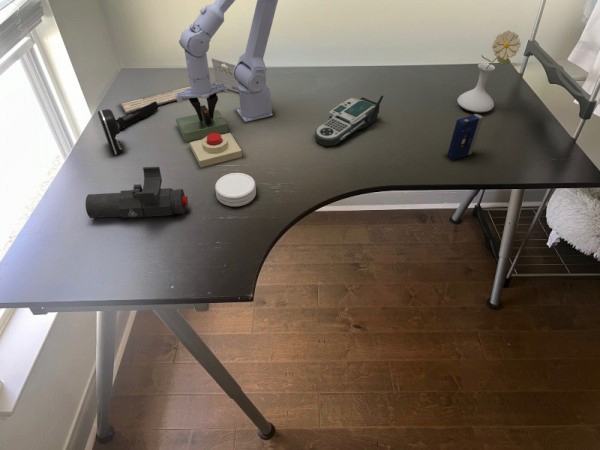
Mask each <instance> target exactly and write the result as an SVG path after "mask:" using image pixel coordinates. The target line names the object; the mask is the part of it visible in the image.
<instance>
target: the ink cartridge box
mask: <svg viewBox="0 0 600 450" xmlns="http://www.w3.org/2000/svg"><path fill="white" fill-rule="evenodd" d="M211 64H212V69H213V76H214V77H213V78H214V85H215V84H225V85H226V86H227V90H229V91H233V92H235V93H238V94H239V88H238V81H237V80H236V79H235V78H234V75H233V71H234V68H235V66H236V65H237V64H233V63H230V62H227V61H222V60H220V59H215V58H211ZM223 65H225V66H226V67H225V66H223Z"/></svg>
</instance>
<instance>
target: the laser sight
mask: <svg viewBox="0 0 600 450" xmlns="http://www.w3.org/2000/svg"><path fill="white" fill-rule="evenodd" d="M142 170H143V185H142V184H141V183H140V184H139V183H138V184H133V188H132V189H129V190H126V189H125V190H120V192H110V193H109V192H108V193H90V194H87V195H86V197H85V203H84V205H85V211H86V214H87V216H88V218H90V219H95V218H113V217H115V218H116V217H122V218H125V219H127V218H145V217H162V216H163V217H165V216H175V214H185V212H186V206H187V207H188V205H189V199H188V195H185V191H184V189H183V188H177V189H176V188H175V189H173V188H171V187H167V188H161V187H162V183H163V179H162V174H161V169H160V166H143V167H142Z"/></svg>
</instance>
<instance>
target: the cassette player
mask: <svg viewBox="0 0 600 450" xmlns="http://www.w3.org/2000/svg"><path fill="white" fill-rule="evenodd" d="M483 119H484V116H482V115H481V114H478V113H474V114H471V115H468V116H465V117H461V118H458V119H456V122H455V125H454V129H453V133H452V136H451V140H450V144H449V147H448V150H447V154H446V158H448V159H449V160H451V161H454V160H455V161H456V160H458V159H461V158H463V157H467V156H469V155H472V154H473V150H474V148H475V144H476V141H477V139H478V136H479V131H480V129H481V127H482V123H483Z"/></svg>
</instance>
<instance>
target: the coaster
mask: <svg viewBox="0 0 600 450" xmlns="http://www.w3.org/2000/svg"><path fill="white" fill-rule="evenodd" d="M256 188H257V187H256V181H255V179H254V178H253V177H252V176H251V175H248V174H246V173H242V172H230V173H228V174H227V173H226V174H225V175H223V176H221V177H220V178H219V179H217V181H216V182H215V185H214V190H215V196H216V199H217V201H218V202H219V203H220V204H222V205H224V206H227V207H232V208H233V207H236V208H237V207H242V206H245V205H247V204H250V203H251V202H252V201H253V200H254V199H255V198H256V194H257V189H256Z"/></svg>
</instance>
